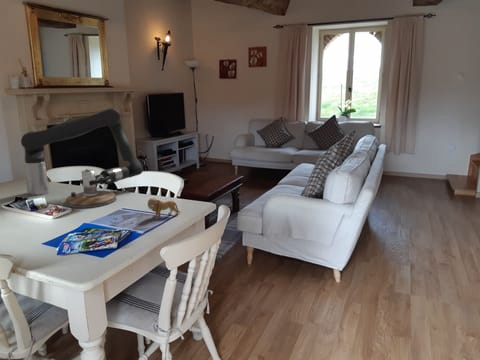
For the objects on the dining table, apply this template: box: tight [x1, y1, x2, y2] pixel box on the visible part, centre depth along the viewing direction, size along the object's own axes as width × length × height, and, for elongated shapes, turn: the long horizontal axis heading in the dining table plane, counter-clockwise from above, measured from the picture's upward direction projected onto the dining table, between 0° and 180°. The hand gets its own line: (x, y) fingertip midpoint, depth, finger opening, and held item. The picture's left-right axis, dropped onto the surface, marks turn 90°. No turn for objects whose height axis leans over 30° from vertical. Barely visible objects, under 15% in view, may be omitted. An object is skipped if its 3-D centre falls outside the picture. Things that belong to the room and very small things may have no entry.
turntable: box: [65, 190, 116, 206], centre depth 185 cm, size 23×23×3 cm
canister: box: [81, 168, 98, 196], centre depth 184 cm, size 7×7×13 cm
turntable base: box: [64, 195, 117, 209], centre depth 186 cm, size 24×24×1 cm
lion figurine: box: [147, 197, 181, 219], centre depth 163 cm, size 15×5×9 cm, turn 121°
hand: (85, 182), depth 182 cm, fingers closed on canister, 6 cm apart
